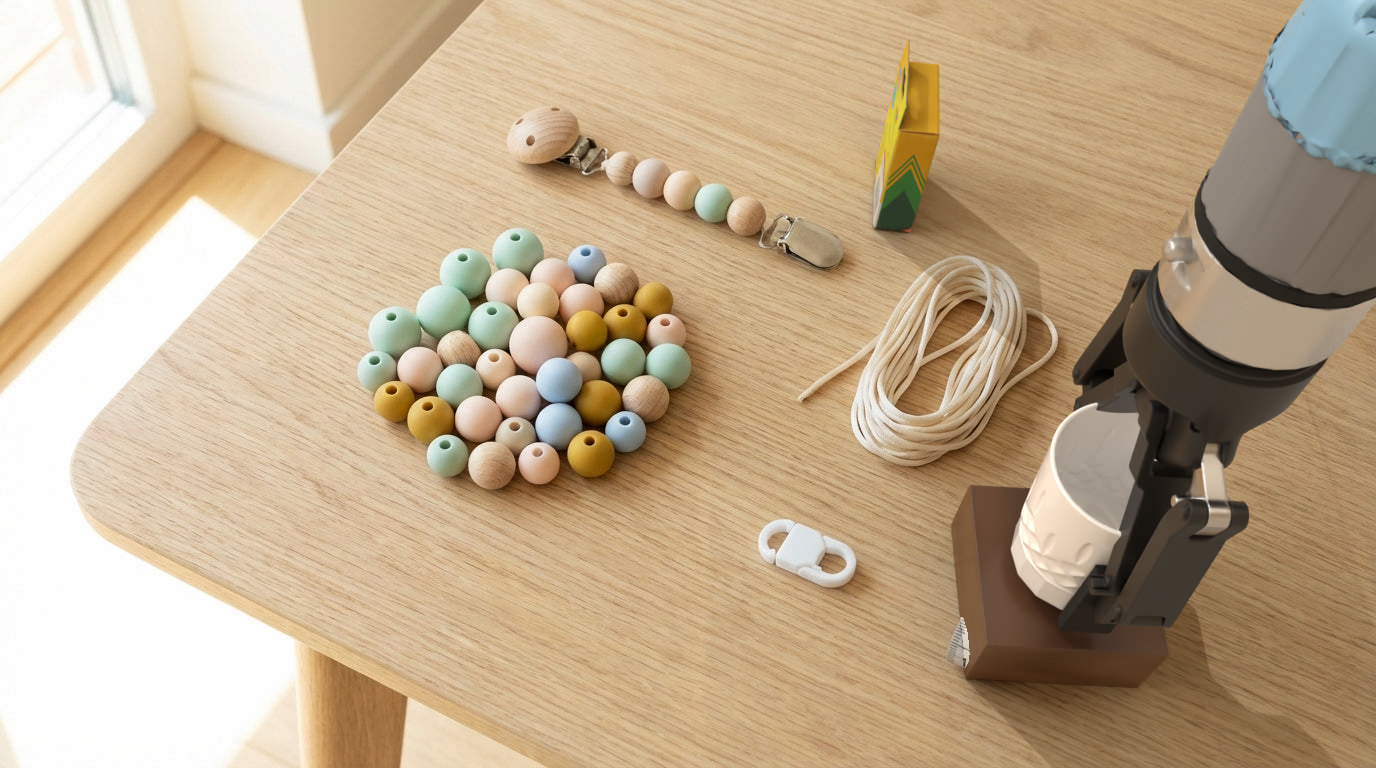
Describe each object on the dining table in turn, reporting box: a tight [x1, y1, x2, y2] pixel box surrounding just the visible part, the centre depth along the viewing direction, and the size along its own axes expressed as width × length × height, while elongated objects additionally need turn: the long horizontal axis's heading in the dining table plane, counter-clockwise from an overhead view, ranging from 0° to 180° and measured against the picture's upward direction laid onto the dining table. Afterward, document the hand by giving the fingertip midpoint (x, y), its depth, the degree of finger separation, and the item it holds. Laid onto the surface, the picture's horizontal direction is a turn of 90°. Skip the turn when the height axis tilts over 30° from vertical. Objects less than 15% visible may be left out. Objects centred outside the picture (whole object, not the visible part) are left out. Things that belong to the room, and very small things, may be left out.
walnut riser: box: [950, 484, 1170, 689], centre depth 71 cm, size 10×10×5 cm
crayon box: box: [872, 38, 940, 233], centre depth 86 cm, size 7×3×12 cm, turn 173°
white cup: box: [1011, 403, 1157, 610], centre depth 64 cm, size 8×8×10 cm
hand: (1072, 556), depth 68 cm, fingers closed on white cup, 7 cm apart
